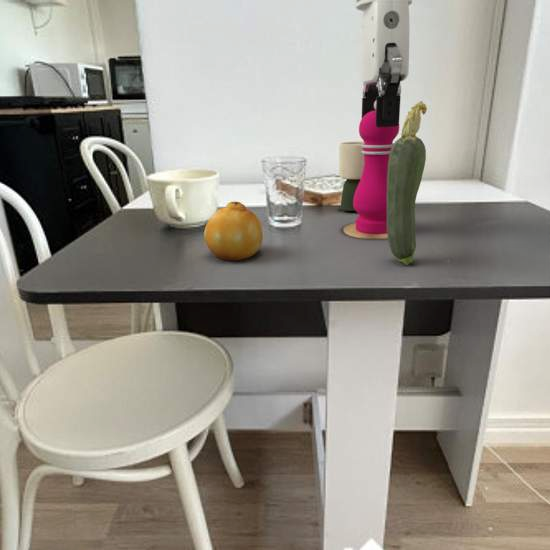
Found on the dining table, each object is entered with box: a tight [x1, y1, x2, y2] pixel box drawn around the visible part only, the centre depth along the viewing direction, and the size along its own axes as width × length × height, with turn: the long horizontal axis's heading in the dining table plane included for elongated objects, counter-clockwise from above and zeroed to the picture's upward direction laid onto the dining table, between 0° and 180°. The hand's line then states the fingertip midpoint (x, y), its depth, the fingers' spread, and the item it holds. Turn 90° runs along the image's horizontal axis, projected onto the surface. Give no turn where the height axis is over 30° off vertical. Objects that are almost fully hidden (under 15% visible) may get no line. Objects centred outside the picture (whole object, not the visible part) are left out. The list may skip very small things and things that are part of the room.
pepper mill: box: [353, 101, 400, 234], centre depth 69 cm, size 7×7×20 cm
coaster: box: [343, 222, 388, 240], centre depth 72 cm, size 10×10×1 cm
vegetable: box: [387, 100, 428, 266], centre depth 55 cm, size 4×4×20 cm
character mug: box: [338, 140, 364, 212], centre depth 84 cm, size 11×7×13 cm, turn 24°
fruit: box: [203, 200, 264, 261], centre depth 62 cm, size 8×8×8 cm
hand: (378, 125), depth 66 cm, fingers open, 9 cm apart
